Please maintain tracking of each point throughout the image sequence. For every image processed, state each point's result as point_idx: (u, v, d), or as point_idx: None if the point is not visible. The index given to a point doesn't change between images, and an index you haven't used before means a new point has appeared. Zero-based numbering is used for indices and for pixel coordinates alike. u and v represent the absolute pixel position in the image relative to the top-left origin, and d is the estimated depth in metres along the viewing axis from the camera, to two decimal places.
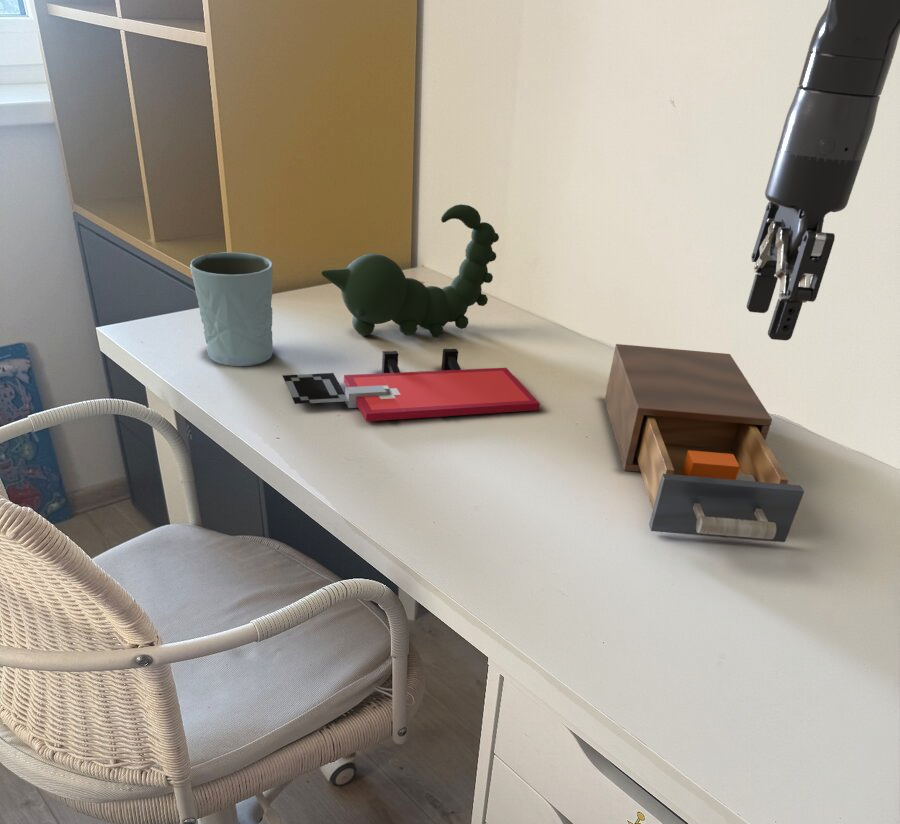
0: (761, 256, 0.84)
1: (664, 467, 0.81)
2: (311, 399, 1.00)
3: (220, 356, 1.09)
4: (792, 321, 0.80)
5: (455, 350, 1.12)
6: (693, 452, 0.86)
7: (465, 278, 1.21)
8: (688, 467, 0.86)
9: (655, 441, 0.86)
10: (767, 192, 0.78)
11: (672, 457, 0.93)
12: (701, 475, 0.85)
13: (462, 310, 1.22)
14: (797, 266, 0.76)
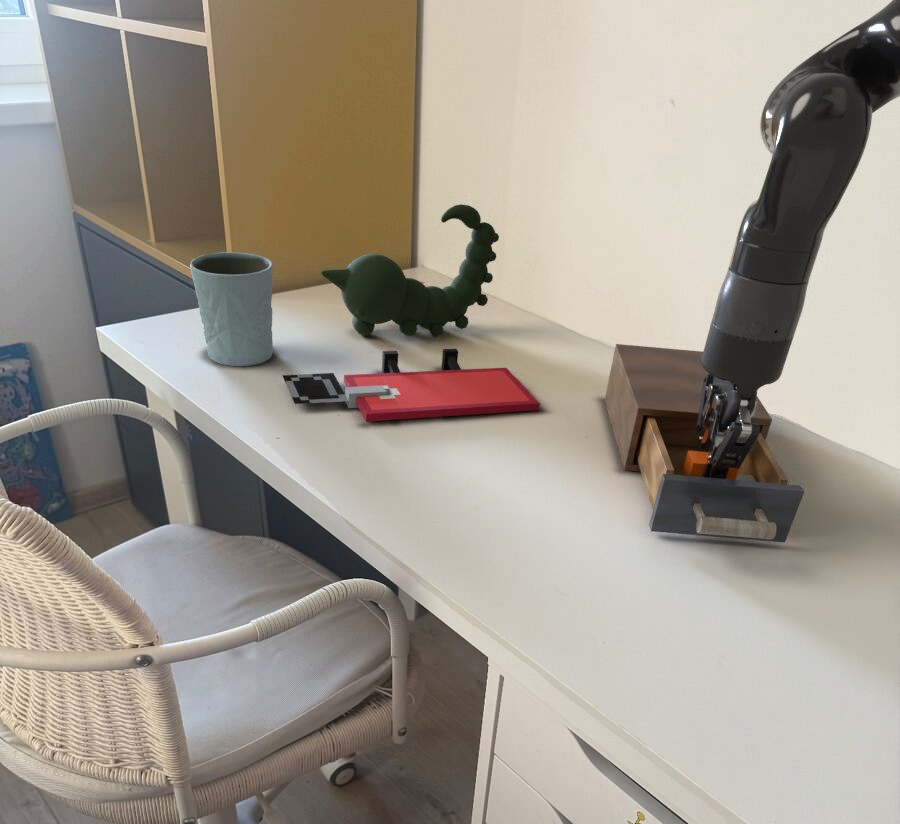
0: (704, 423, 0.84)
1: (664, 467, 0.81)
2: (311, 399, 1.00)
3: (220, 356, 1.09)
4: None
5: (455, 350, 1.12)
6: (693, 452, 0.86)
7: (465, 278, 1.21)
8: (688, 467, 0.86)
9: (655, 441, 0.86)
10: (702, 361, 0.79)
11: (672, 457, 0.93)
12: (701, 475, 0.85)
13: (462, 310, 1.22)
14: (723, 446, 0.79)
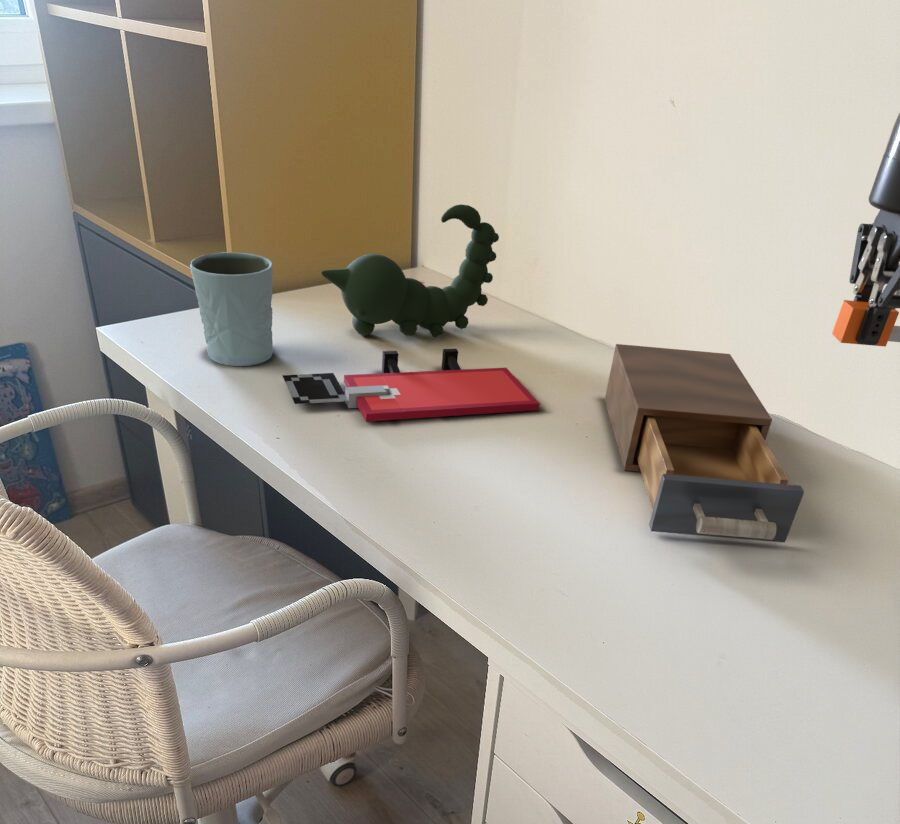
0: (863, 270, 0.85)
1: (664, 467, 0.81)
2: (311, 399, 1.00)
3: (220, 356, 1.09)
4: (880, 327, 0.84)
5: (455, 350, 1.12)
6: (849, 301, 0.86)
7: (465, 278, 1.21)
8: (845, 316, 0.86)
9: (655, 441, 0.86)
10: (872, 198, 0.80)
11: (672, 457, 0.93)
12: (859, 322, 0.85)
13: (462, 310, 1.22)
14: (893, 281, 0.79)
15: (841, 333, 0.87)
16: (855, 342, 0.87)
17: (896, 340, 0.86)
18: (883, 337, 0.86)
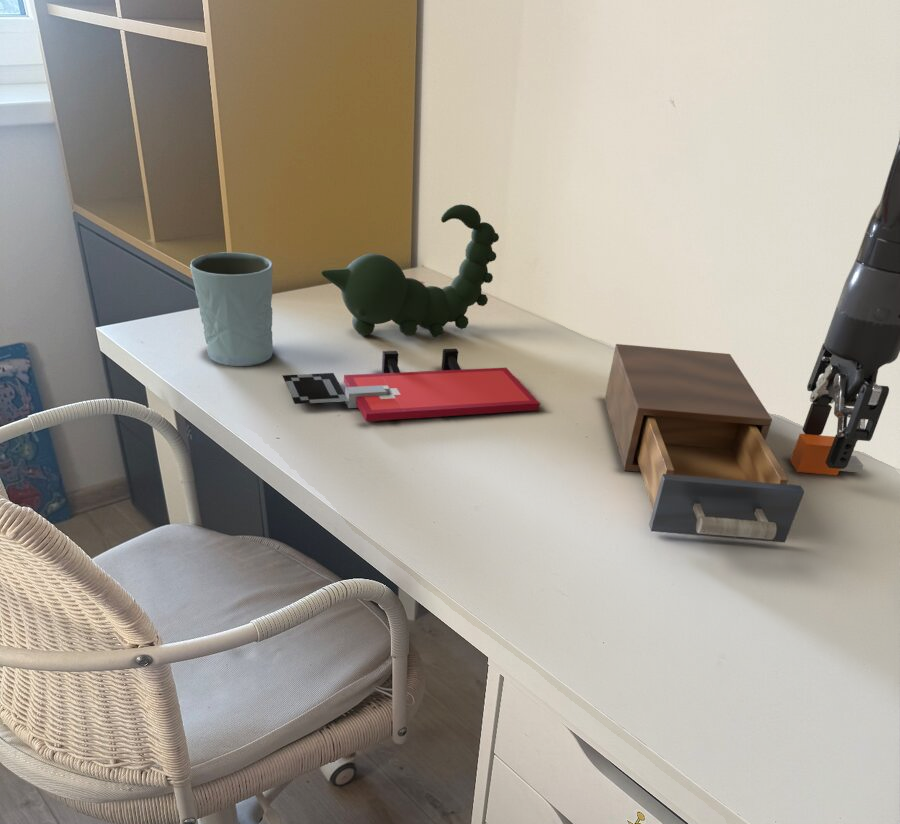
0: (818, 391, 0.95)
1: (664, 467, 0.81)
2: (311, 399, 1.00)
3: (220, 356, 1.09)
4: (848, 454, 0.91)
5: (455, 350, 1.12)
6: (805, 435, 0.96)
7: (465, 278, 1.21)
8: (800, 448, 0.96)
9: (655, 441, 0.86)
10: (827, 344, 0.89)
11: (672, 457, 0.93)
12: (813, 455, 0.95)
13: (462, 310, 1.22)
14: (855, 412, 0.87)
15: (797, 463, 0.97)
16: (810, 471, 0.96)
17: (846, 470, 0.96)
18: (835, 468, 0.96)
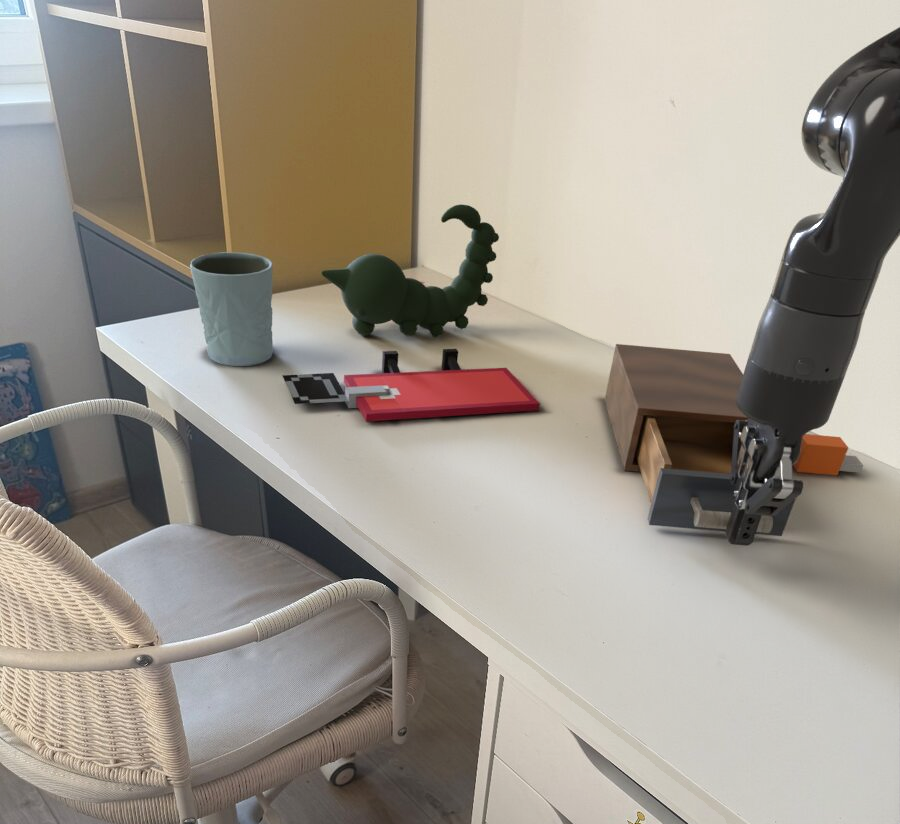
0: (739, 473, 0.73)
1: (662, 462, 0.82)
2: (311, 399, 1.00)
3: (220, 356, 1.09)
4: (752, 530, 0.74)
5: (455, 350, 1.12)
6: (805, 435, 0.96)
7: (465, 278, 1.21)
8: None
9: (653, 436, 0.86)
10: (738, 402, 0.69)
11: (670, 452, 0.94)
12: (813, 455, 0.95)
13: (462, 310, 1.22)
14: (758, 498, 0.69)
15: (797, 463, 0.97)
16: (810, 471, 0.96)
17: (846, 470, 0.96)
18: (835, 468, 0.96)
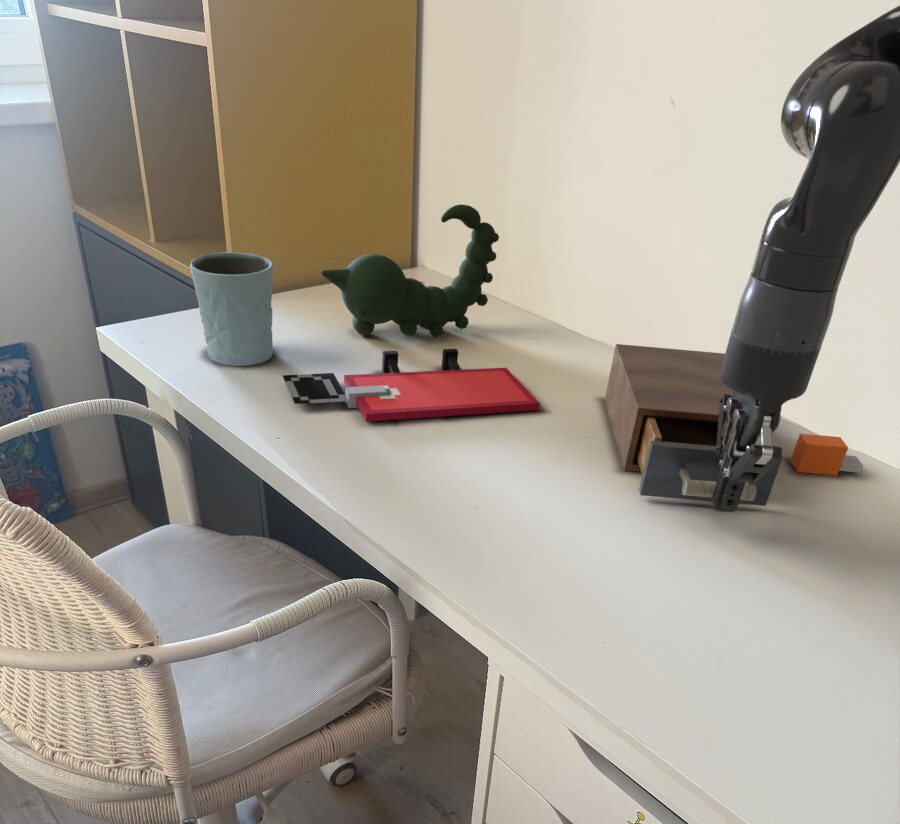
0: (724, 443, 0.78)
1: (652, 435, 0.87)
2: (311, 399, 1.00)
3: (220, 356, 1.09)
4: (736, 496, 0.79)
5: (455, 350, 1.12)
6: (805, 435, 0.96)
7: (465, 278, 1.21)
8: (800, 448, 0.96)
9: None
10: (722, 374, 0.73)
11: (661, 429, 0.98)
12: (813, 455, 0.95)
13: (462, 310, 1.22)
14: (741, 464, 0.74)
15: (797, 463, 0.97)
16: (810, 471, 0.96)
17: (846, 470, 0.96)
18: (835, 468, 0.96)
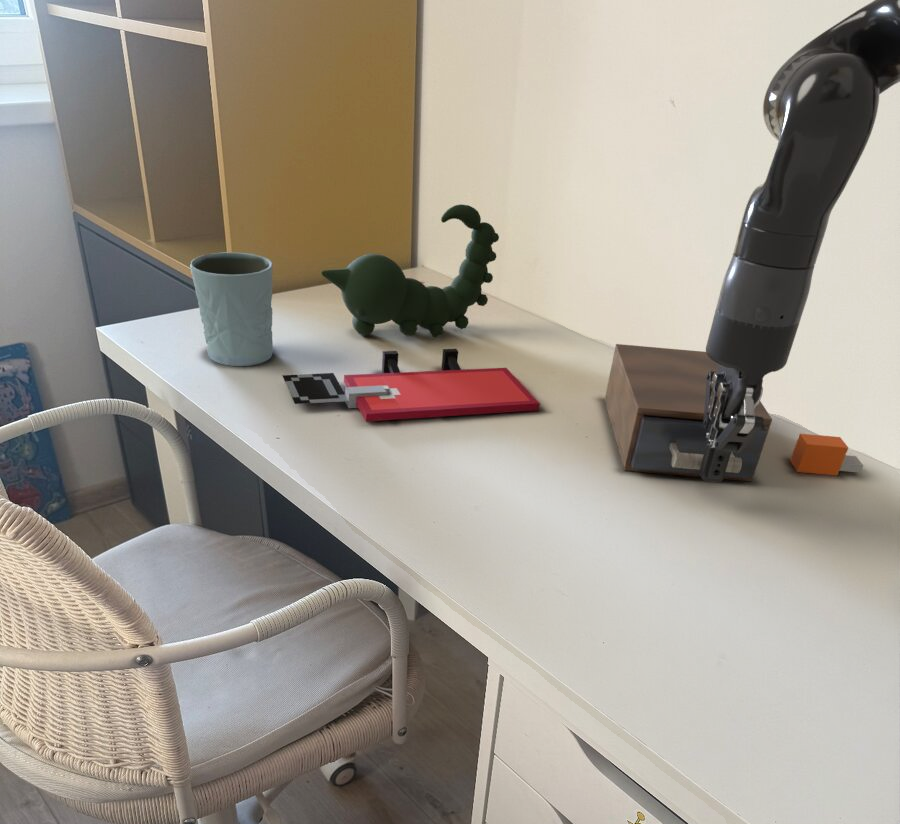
0: (710, 415, 0.83)
1: None
2: (311, 399, 1.00)
3: (220, 356, 1.09)
4: (722, 467, 0.84)
5: (455, 350, 1.12)
6: (805, 435, 0.96)
7: (465, 278, 1.21)
8: (800, 448, 0.96)
9: None
10: (707, 349, 0.78)
11: None
12: (813, 455, 0.95)
13: (462, 310, 1.22)
14: (725, 434, 0.79)
15: (797, 463, 0.97)
16: (810, 471, 0.96)
17: (846, 470, 0.96)
18: (835, 468, 0.96)
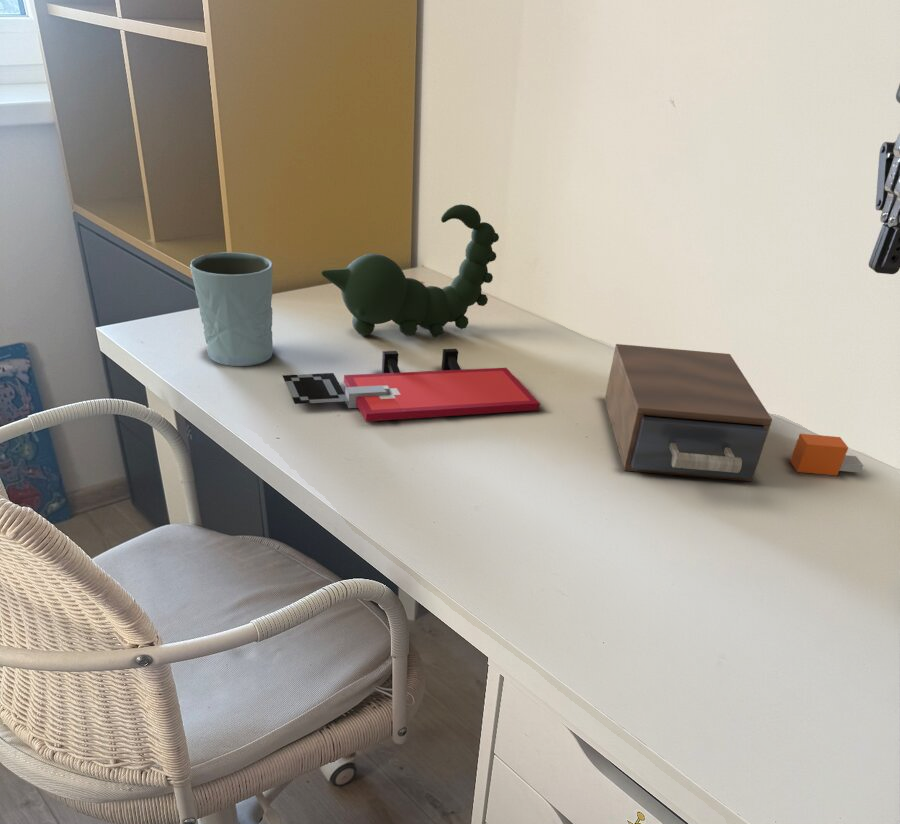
0: (892, 187, 0.70)
1: None
2: (311, 399, 1.00)
3: (220, 356, 1.09)
4: None
5: (455, 350, 1.12)
6: (805, 435, 0.96)
7: (465, 278, 1.21)
8: (800, 448, 0.96)
9: None
10: None
11: None
12: (813, 455, 0.95)
13: (462, 310, 1.22)
14: None
15: (797, 463, 0.97)
16: (810, 471, 0.96)
17: (846, 470, 0.96)
18: (835, 468, 0.96)
